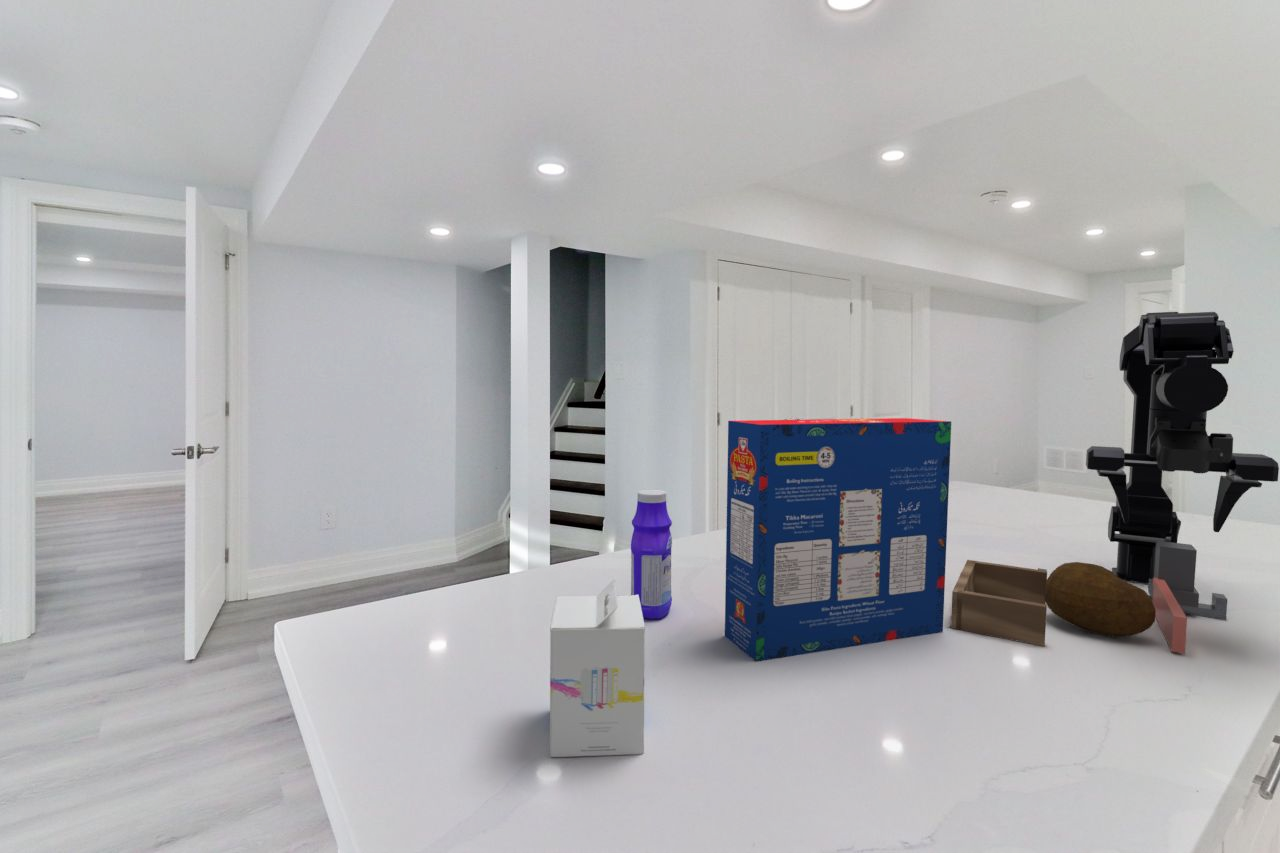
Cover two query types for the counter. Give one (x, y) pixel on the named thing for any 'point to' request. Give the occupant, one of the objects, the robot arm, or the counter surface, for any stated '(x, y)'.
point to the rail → (1206, 607)
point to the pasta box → (834, 533)
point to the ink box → (597, 675)
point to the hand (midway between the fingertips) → (1169, 527)
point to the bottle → (651, 554)
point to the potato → (1098, 600)
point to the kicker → (1173, 590)
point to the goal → (1000, 601)
